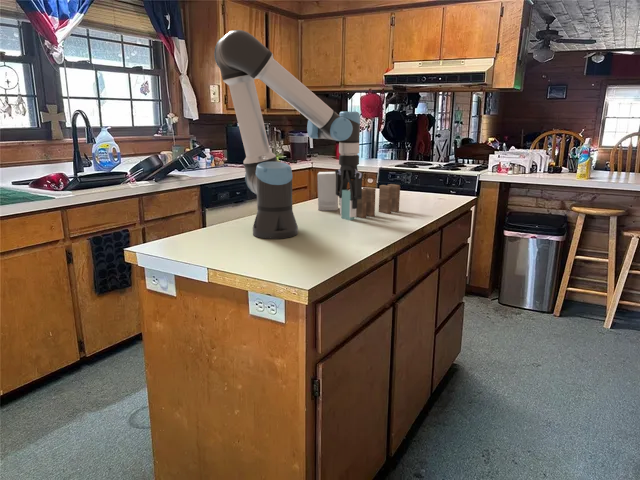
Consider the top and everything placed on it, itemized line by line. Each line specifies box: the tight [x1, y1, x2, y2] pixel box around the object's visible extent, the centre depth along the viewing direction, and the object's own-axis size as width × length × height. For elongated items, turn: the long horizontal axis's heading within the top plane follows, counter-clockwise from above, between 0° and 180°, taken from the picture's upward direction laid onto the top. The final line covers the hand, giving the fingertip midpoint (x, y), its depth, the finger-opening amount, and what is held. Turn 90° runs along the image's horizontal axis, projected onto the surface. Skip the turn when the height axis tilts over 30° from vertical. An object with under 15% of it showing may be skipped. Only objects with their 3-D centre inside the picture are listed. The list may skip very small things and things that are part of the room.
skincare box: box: [316, 171, 339, 211], centre depth 200 cm, size 8×7×16 cm
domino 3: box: [378, 184, 392, 215], centre depth 194 cm, size 2×5×11 cm, turn 37°
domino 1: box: [355, 188, 367, 219], centre depth 186 cm, size 2×5×11 cm, turn 37°
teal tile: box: [341, 188, 355, 221], centre depth 182 cm, size 2×5×11 cm, turn 37°
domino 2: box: [362, 186, 376, 218], centre depth 188 cm, size 2×5×11 cm, turn 37°
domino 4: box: [387, 183, 401, 213], centre depth 197 cm, size 2×5×11 cm, turn 37°
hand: (347, 215), depth 183 cm, fingers closed on teal tile, 5 cm apart
